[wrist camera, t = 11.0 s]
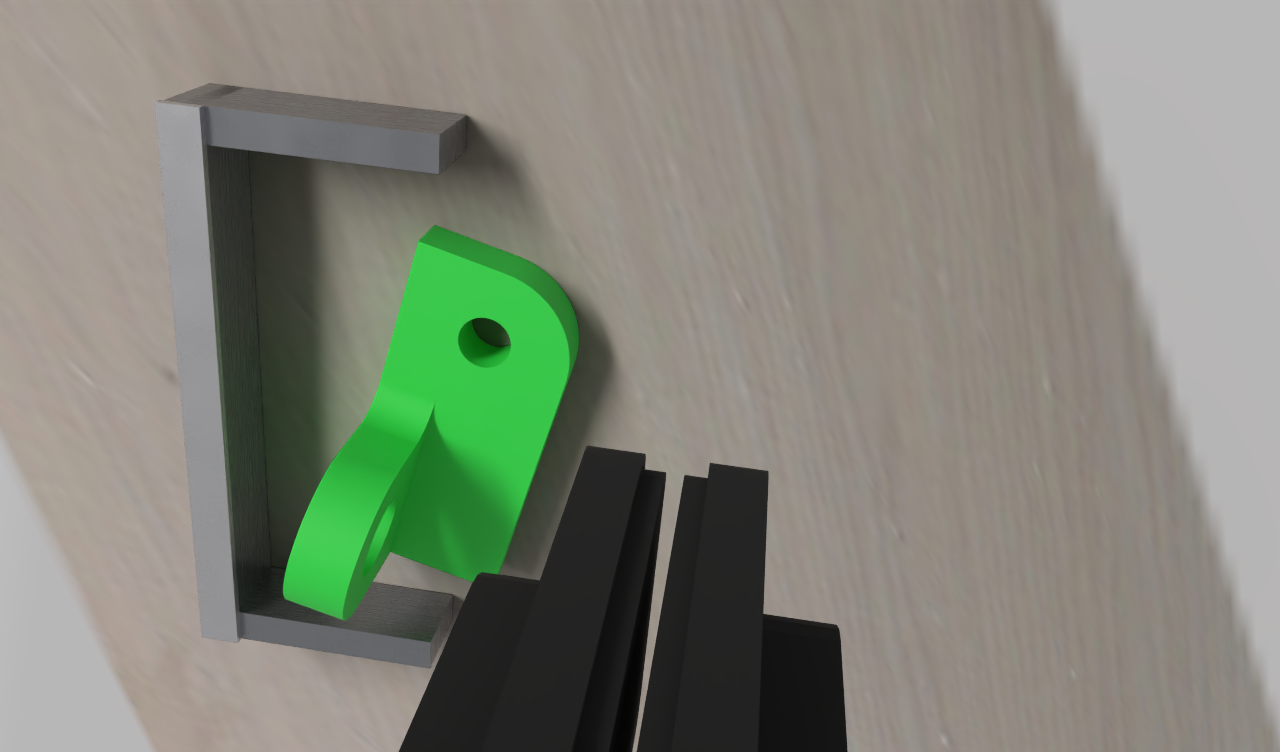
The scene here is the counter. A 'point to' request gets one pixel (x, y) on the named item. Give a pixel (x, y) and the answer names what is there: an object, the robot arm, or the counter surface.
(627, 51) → the counter surface
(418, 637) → the steel bracket
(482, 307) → the mechanical part
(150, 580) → the counter surface
